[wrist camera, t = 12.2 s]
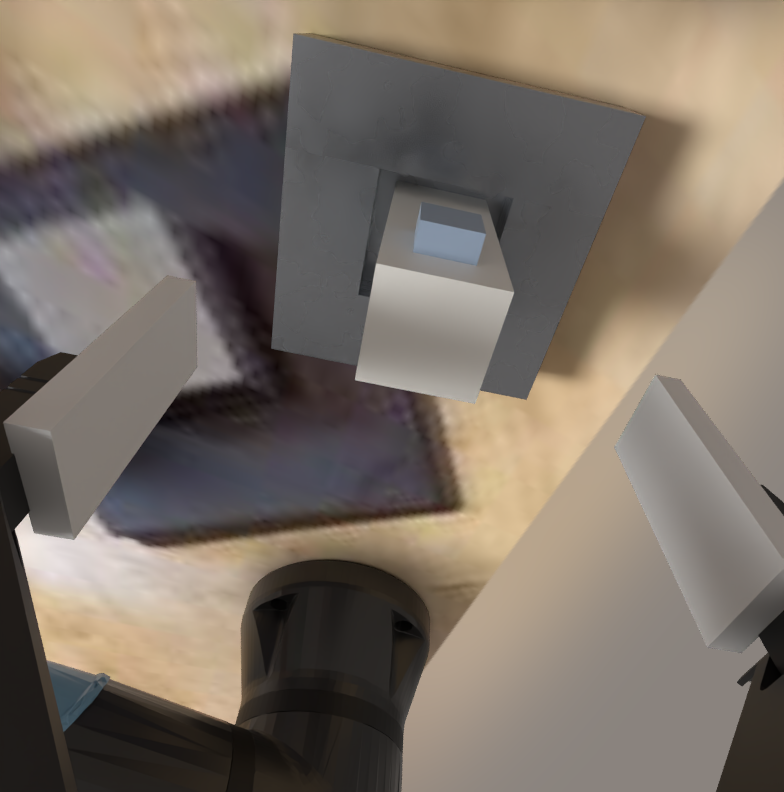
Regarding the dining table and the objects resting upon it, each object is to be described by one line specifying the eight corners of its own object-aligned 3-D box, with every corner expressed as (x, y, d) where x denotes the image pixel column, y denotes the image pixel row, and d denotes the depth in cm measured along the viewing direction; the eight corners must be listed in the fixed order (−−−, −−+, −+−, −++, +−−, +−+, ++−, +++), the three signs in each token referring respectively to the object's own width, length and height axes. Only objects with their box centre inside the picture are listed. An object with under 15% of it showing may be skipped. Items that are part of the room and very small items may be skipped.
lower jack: (518, 368, 29) (526, 399, 27) (285, 321, 28) (271, 348, 26) (621, 106, 22) (646, 116, 19) (310, 33, 21) (293, 33, 18)
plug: (461, 283, 25) (474, 403, 17) (380, 266, 25) (354, 380, 17) (492, 176, 23) (526, 258, 14) (401, 156, 22) (382, 228, 14)
